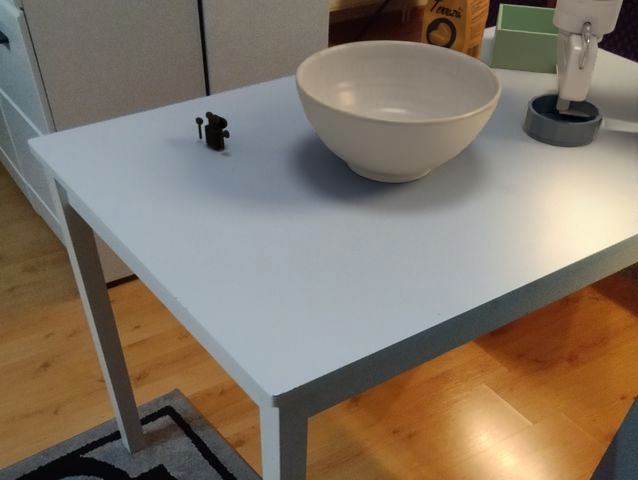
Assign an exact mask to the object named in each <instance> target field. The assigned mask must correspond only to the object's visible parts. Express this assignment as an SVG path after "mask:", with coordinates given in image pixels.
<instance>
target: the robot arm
mask: <svg viewBox="0 0 638 480" xmlns="http://www.w3.org/2000/svg"><path fill="white" fill-rule="evenodd" d="M623 1H624V0H556V4H555V8H554V9H555V12H554V16H553V24H554V25H555V26H556V27H558V28H559V32H558V40H557V50H556V54H557V64H556V67H557V78H558V79H557V80H558V86H557V92H556V93H558V94H559V95H558V99H557V102H556V108H557V110H559V111H564V112H566V111H567V110H569V108H568V107H569V103H570V101H583V100H584V99H586V97H587V95H588V92H589V89H590V85H591V81H592V78H593V73H594V70H595V66H596V62H597V57H598V52H599V51H598V50H599V45H598V43H600V42H602V40H603V38H604V35H607V34H611V33H612V32H613V31H614V30H615V27H616V26H617V25H616V24H617V21H618V18H619V16H620V15H619V14H620V12H621V8H622V5H623Z"/></svg>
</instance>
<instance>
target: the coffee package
mask: <svg viewBox="0 0 638 480" xmlns="http://www.w3.org/2000/svg"><path fill="white" fill-rule="evenodd" d="M490 1H491V0H427V2H426V5H425V7H424V11H423V19H422V30H421V32H422V33H421V41H420V43H424V44H430V45H435V46H440V47H444V48H448V49H451V50H455V51H458V52H461V53H463V54H466V55H468V56H471V57H473V58H475V59H477V60H479V61H481V60H480V59H481V52H482V47H483V46H482V45H483V41H484V40H483V39H484V34H485V29H486V25H487V23H486V22H487V20H488V16H489V9H490Z"/></svg>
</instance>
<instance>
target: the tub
mask: <svg viewBox="0 0 638 480" xmlns="http://www.w3.org/2000/svg"><path fill="white" fill-rule="evenodd" d="M554 12H555V8H550V7H540V6H530V5H517V4H507V3H499V7H498V12H497V18H496V23H495V29H494V33H493V40H492V48H491V57H490V65H489V67H490V68H497V69H506V70H514V71H515V70H516V71H525V72H534V73H543V74H552V75H554V74H555V75H558V67H557V54H556V50H557V40H558V32H559V28H558V27H556V26H555V25H554V24H553V16H554Z"/></svg>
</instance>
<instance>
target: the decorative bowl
mask: <svg viewBox="0 0 638 480" xmlns="http://www.w3.org/2000/svg"><path fill="white" fill-rule="evenodd" d="M294 81H295V86H296V91H297V95H298V98H299V101H300V104H301V107H302V108H303V112H304V114H305V116H306V119H307V120H308V122H309V125H311V127H312V129H313V130H314V132H315V133H316V135H317V137H318V138H319V139H320V140H321V141H322V142H323V144H324V145H325V146H326V147H327V148H328V149H329V150H330V151H331V152H332V153H334V155H336V157H338V158H340V159H341V160H343V161H345V162H346V163H347V166H348V167H349V168H350V169H351V170H352V171H353V172H354V173H355V174H357V175H359V176H361V177H363V178H366V179H369V180H371V181H375V182H376V181H377V182H380V183H391V184H392V183H393V184H395V183H396V184H397V183H398V184H399V183H408V182H413V181H416V180H419V179H422V178H424V177H425V176H427V175H428V174H429V173H430V172H431V171H432V170H433V169H434V168H437V167H440V166H442V165H443V164H446V163H447V162H448V161H450V160H452V159H453V158H455V157H456V156H458V154H460V153H461V152H463V150H465V149H467V147H468V146H469V145H470V144H471V143H472V142H473V141H474V140H475V139H476V137H477V136H478V135H479V134H480V132H481V131H482V130H483V128H484V127H485V126H486V125H487V123H488V121H489V120H490V118H491V116H492V114H493V113H494V111H495V109H496V107H497V105H498V103H499V101H500V98H501V95H502V92H503V84H502V81H501V79H500V77H499V76H498V74H497V72H495V71H494V70H493V69H492V67H490V66H488V65H487V64H486V63H484V62H482V61H481V60H477V59H475V58H473V57H471V56H468V55H466V54H463V53H461V52H458V51H455V50H451V49H448V48H444V47H440V46H435V45H430V44H424V43H421V42H415V41H406V40H383V39H382V40H363V41H353V42H348V43H342V44H337V45H333V46H330V47H327V48H324V49H322V50H319V51H317V52H315V53H313V54H311V55H309V56H308V57H306V58H305V59H304V60H302V61H301V63H300V64H299V65H298V67H297V68H296V71H295V75H294Z"/></svg>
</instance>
